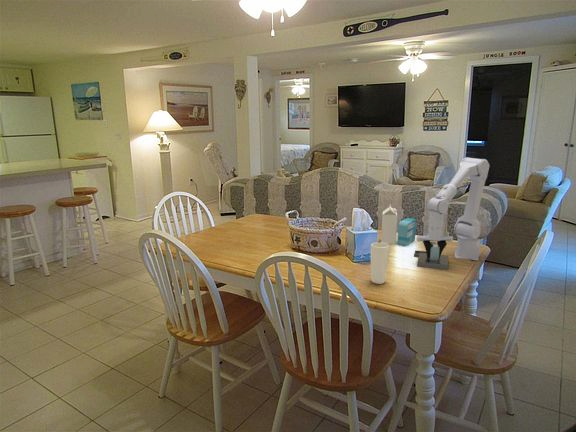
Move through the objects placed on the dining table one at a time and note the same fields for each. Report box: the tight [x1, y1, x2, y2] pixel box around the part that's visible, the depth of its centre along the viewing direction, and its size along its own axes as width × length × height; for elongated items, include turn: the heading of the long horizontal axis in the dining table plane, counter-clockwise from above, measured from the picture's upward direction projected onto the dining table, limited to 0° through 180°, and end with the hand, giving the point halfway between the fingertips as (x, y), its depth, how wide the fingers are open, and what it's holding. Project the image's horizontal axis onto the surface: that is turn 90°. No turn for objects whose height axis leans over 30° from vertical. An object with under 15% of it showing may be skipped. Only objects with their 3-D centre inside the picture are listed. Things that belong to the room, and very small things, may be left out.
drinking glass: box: [370, 241, 390, 285], centre depth 155 cm, size 7×7×15 cm
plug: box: [427, 241, 440, 261], centre depth 173 cm, size 4×4×8 cm
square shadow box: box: [413, 249, 426, 258], centre depth 184 cm, size 6×6×2 cm
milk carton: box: [380, 203, 398, 245], centre depth 201 cm, size 7×7×19 cm
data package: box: [396, 217, 417, 247], centre depth 200 cm, size 12×4×12 cm, turn 142°
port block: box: [416, 252, 449, 271], centre depth 174 cm, size 12×12×3 cm
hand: (433, 257), depth 173 cm, fingers closed on plug, 4 cm apart
